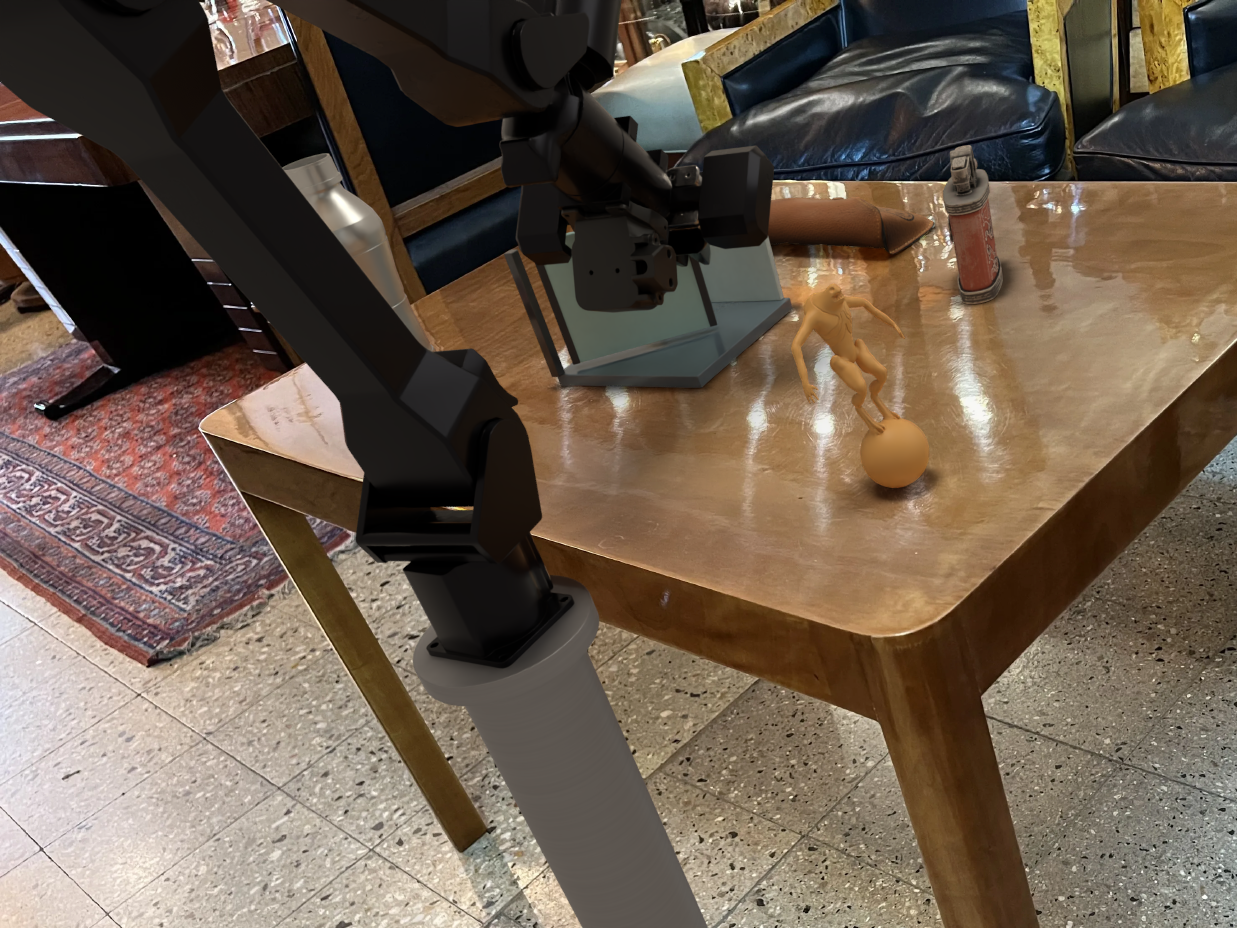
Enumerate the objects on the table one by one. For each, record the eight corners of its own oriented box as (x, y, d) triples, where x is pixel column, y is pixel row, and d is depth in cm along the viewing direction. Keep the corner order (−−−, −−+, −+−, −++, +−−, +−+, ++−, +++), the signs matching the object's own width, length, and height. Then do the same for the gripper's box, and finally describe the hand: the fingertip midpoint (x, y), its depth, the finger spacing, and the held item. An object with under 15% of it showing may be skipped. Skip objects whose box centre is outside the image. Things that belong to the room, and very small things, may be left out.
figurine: (883, 525, 66) (835, 321, 59) (805, 506, 69) (751, 313, 63) (969, 453, 70) (933, 256, 63) (891, 439, 74) (849, 252, 67)
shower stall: (697, 391, 87) (651, 245, 81) (556, 388, 94) (503, 253, 88) (793, 308, 97) (758, 171, 90) (658, 311, 104) (617, 184, 97)
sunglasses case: (941, 217, 105) (907, 164, 100) (911, 283, 104) (874, 234, 99) (790, 216, 116) (752, 169, 111) (761, 276, 115) (721, 231, 109)
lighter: (962, 268, 95) (940, 140, 90) (1004, 260, 95) (985, 131, 89) (956, 306, 89) (932, 172, 83) (1001, 299, 88) (980, 162, 83)
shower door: (717, 325, 93) (681, 203, 88) (573, 365, 93) (528, 246, 88) (716, 321, 94) (680, 200, 89) (573, 361, 94) (528, 243, 89)
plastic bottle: (365, 433, 95) (239, 182, 84) (417, 394, 100) (305, 152, 89) (426, 432, 93) (303, 172, 81) (476, 391, 97) (368, 141, 86)
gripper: (449, 284, 78) (580, 367, 92) (703, 263, 71) (801, 356, 86) (469, 124, 79) (595, 231, 93) (721, 89, 72) (814, 210, 87)
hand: (697, 259), depth 90 cm, fingers closed
